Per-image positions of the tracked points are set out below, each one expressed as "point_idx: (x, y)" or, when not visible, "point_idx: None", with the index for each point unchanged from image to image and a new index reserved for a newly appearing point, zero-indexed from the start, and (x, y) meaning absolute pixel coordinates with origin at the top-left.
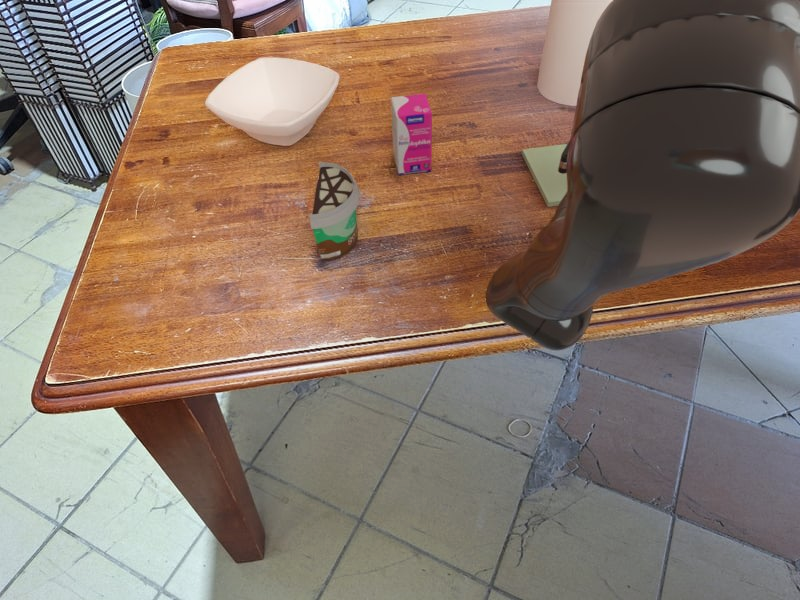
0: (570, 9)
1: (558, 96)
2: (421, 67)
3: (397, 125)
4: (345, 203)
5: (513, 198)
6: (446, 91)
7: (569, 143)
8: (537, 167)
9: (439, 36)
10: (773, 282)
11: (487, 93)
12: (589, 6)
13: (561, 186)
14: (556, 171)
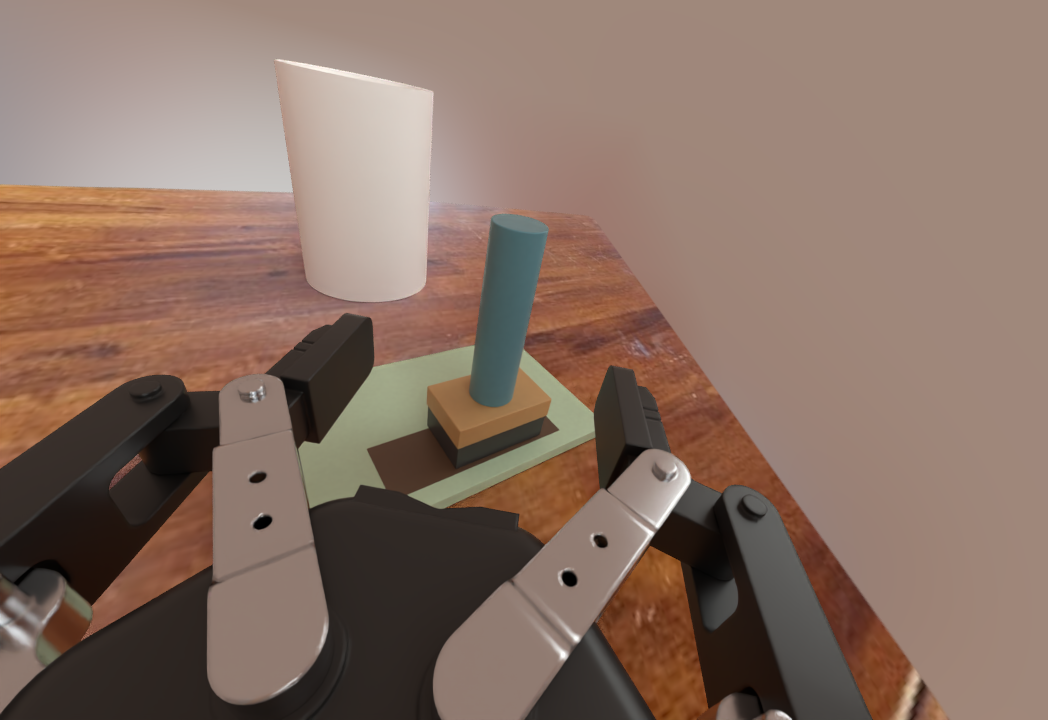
0: (309, 116)
1: (338, 287)
2: (51, 243)
3: None
4: None
5: (123, 593)
6: (84, 283)
7: (4, 475)
8: None
9: (139, 206)
10: (894, 694)
11: (193, 285)
12: (344, 109)
13: (310, 503)
14: (304, 452)
